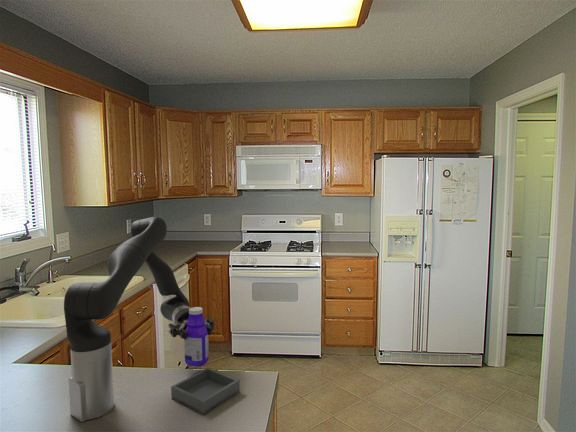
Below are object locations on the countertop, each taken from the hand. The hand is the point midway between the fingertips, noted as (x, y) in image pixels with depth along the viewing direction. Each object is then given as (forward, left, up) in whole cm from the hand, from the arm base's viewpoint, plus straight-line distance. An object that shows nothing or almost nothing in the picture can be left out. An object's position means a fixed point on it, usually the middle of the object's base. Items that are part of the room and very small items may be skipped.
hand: (198, 334), depth 112 cm
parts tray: (-7, -11, -13) cm, 18 cm away
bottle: (+1, +2, -10) cm, 10 cm away
